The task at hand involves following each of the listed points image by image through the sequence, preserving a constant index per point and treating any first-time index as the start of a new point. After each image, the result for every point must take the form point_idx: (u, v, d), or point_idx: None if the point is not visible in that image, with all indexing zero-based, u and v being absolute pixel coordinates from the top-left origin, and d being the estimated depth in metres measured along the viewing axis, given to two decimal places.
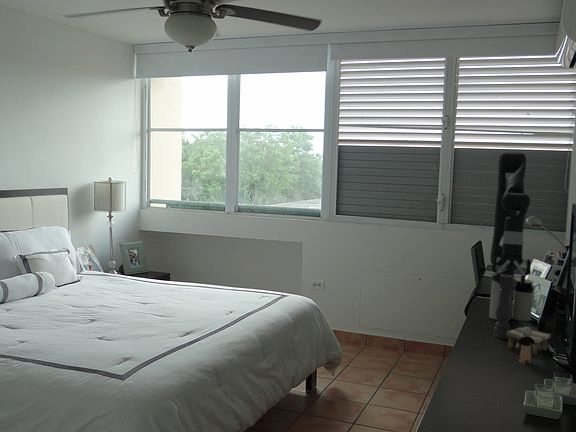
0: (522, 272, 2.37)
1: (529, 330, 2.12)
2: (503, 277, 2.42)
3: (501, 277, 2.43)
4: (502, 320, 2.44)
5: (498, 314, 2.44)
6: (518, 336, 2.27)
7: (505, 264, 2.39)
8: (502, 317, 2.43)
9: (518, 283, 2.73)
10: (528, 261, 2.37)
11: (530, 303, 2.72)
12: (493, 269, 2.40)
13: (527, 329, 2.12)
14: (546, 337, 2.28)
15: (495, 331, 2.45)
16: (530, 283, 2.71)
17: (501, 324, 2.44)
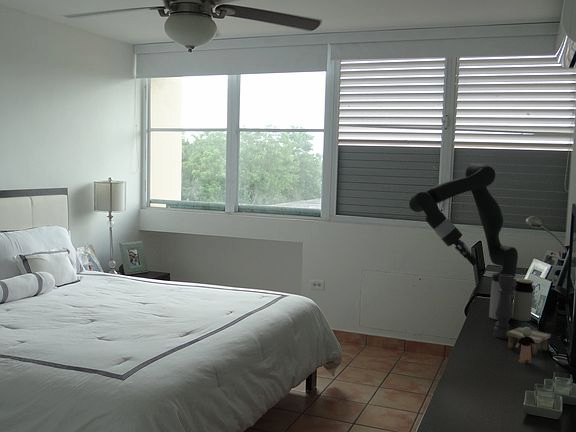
0: None
1: (529, 330, 2.12)
2: (503, 277, 2.42)
3: (501, 277, 2.43)
4: (502, 320, 2.44)
5: (498, 314, 2.44)
6: (518, 336, 2.27)
7: None
8: (501, 317, 2.43)
9: (518, 283, 2.73)
10: None
11: (530, 303, 2.72)
12: None
13: (527, 329, 2.12)
14: (546, 337, 2.28)
15: (495, 331, 2.45)
16: (530, 283, 2.71)
17: (501, 324, 2.44)
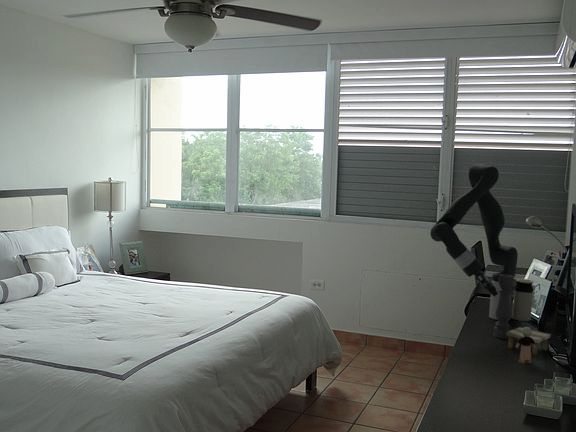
0: None
1: (529, 330, 2.12)
2: (503, 277, 2.42)
3: (501, 277, 2.43)
4: (502, 320, 2.44)
5: (498, 314, 2.44)
6: (518, 336, 2.27)
7: None
8: (501, 317, 2.43)
9: (518, 283, 2.73)
10: (477, 279, 2.41)
11: (530, 303, 2.72)
12: None
13: (527, 329, 2.12)
14: (546, 337, 2.28)
15: (495, 331, 2.45)
16: (530, 283, 2.71)
17: (501, 324, 2.44)
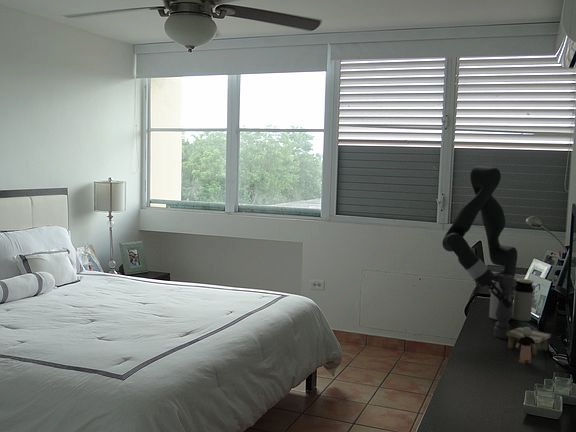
0: None
1: (529, 330, 2.12)
2: (503, 277, 2.42)
3: (501, 277, 2.43)
4: (502, 320, 2.44)
5: (498, 314, 2.44)
6: (518, 336, 2.27)
7: None
8: (502, 317, 2.43)
9: (518, 283, 2.73)
10: (492, 292, 2.40)
11: (530, 303, 2.72)
12: None
13: (527, 329, 2.12)
14: (546, 337, 2.28)
15: (495, 331, 2.45)
16: (530, 283, 2.71)
17: (501, 324, 2.44)
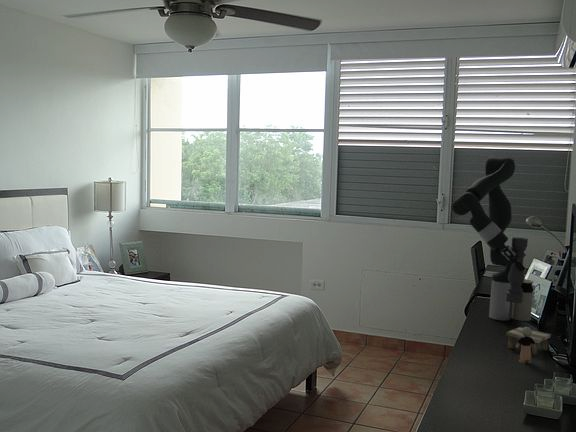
0: None
1: (529, 330, 2.12)
2: (516, 239, 2.34)
3: (514, 239, 2.34)
4: (515, 284, 2.35)
5: (511, 278, 2.36)
6: (518, 336, 2.27)
7: None
8: (514, 280, 2.35)
9: None
10: (504, 254, 2.32)
11: (530, 303, 2.72)
12: None
13: (527, 329, 2.12)
14: (546, 337, 2.28)
15: (507, 296, 2.37)
16: (530, 283, 2.71)
17: (514, 288, 2.35)
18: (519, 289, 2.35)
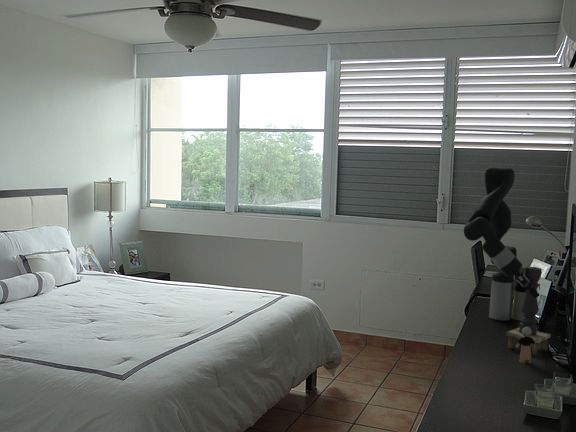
0: None
1: (529, 330, 2.12)
2: (530, 270, 2.26)
3: (528, 270, 2.27)
4: (529, 315, 2.28)
5: (524, 309, 2.28)
6: (518, 336, 2.27)
7: None
8: (528, 312, 2.27)
9: (518, 283, 2.73)
10: (517, 279, 2.24)
11: None
12: None
13: (527, 329, 2.12)
14: (546, 337, 2.28)
15: (521, 327, 2.30)
16: None
17: (527, 320, 2.28)
18: (533, 321, 2.28)
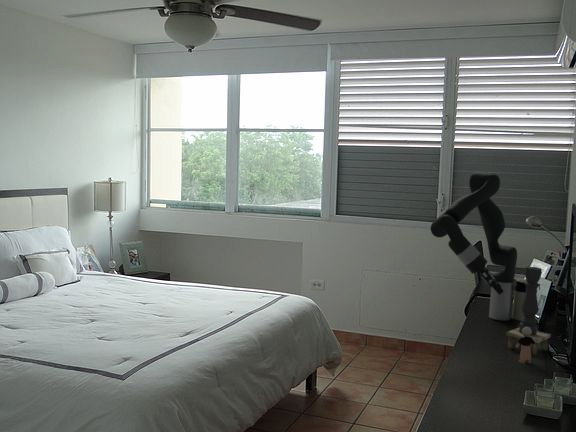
0: (489, 284, 2.28)
1: (529, 330, 2.12)
2: (530, 270, 2.26)
3: (528, 270, 2.27)
4: (529, 316, 2.28)
5: (524, 309, 2.28)
6: (518, 336, 2.27)
7: None
8: (528, 312, 2.27)
9: (518, 283, 2.73)
10: (482, 276, 2.27)
11: None
12: None
13: (527, 329, 2.12)
14: (546, 337, 2.28)
15: (521, 327, 2.30)
16: None
17: (527, 320, 2.28)
18: (533, 321, 2.28)
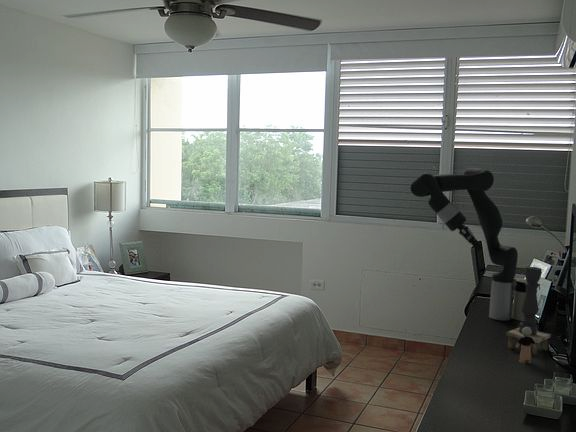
0: None
1: (529, 330, 2.12)
2: (530, 270, 2.26)
3: (528, 270, 2.27)
4: (529, 316, 2.28)
5: (524, 309, 2.28)
6: (518, 336, 2.27)
7: None
8: (528, 312, 2.27)
9: (518, 283, 2.73)
10: (460, 232, 2.31)
11: None
12: None
13: (527, 329, 2.12)
14: (546, 337, 2.28)
15: (521, 327, 2.30)
16: None
17: (527, 320, 2.28)
18: (533, 321, 2.28)
